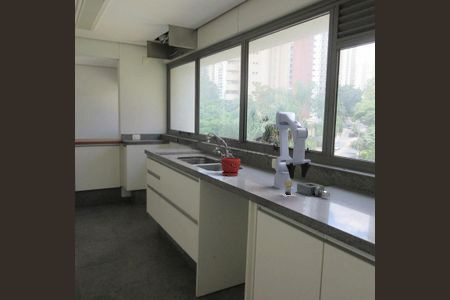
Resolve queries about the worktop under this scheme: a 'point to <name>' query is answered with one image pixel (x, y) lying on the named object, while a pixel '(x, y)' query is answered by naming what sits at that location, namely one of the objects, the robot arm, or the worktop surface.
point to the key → (288, 187)
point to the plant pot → (230, 166)
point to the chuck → (312, 189)
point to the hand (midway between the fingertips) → (297, 177)
